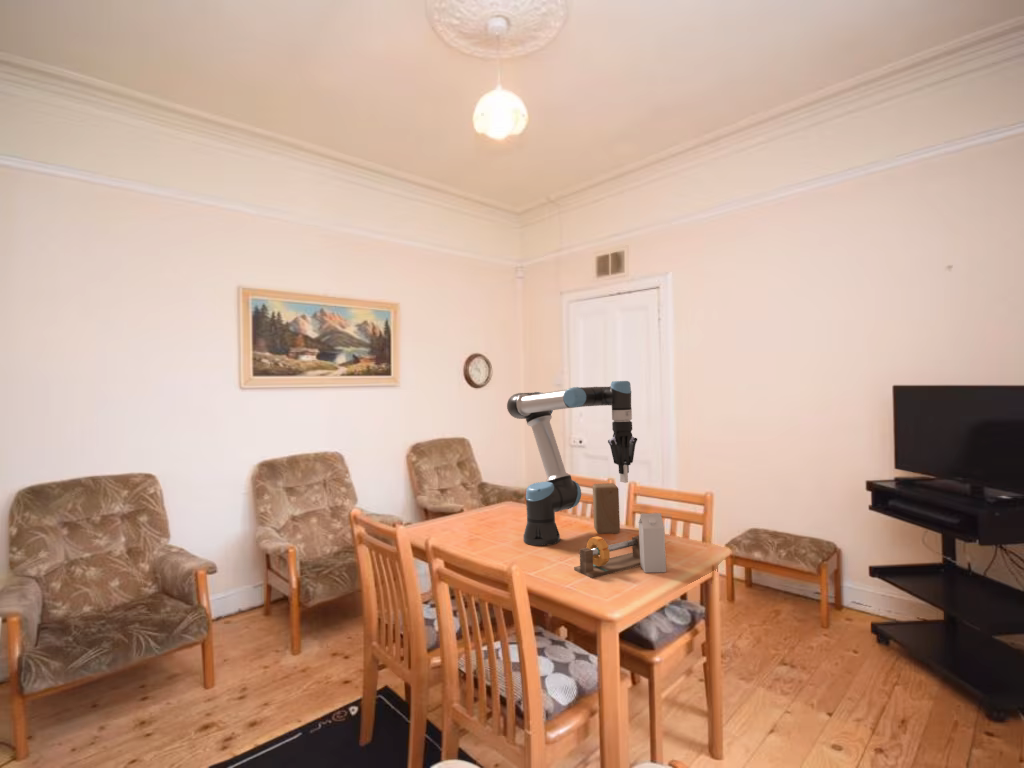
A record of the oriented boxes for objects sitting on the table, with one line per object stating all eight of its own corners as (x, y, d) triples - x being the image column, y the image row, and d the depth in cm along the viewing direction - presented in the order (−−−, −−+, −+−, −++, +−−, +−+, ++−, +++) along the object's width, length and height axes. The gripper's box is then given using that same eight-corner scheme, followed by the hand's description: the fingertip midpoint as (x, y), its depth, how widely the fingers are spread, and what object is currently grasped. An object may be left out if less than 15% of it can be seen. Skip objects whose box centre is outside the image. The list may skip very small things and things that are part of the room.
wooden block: (620, 533, 220) (618, 486, 220) (597, 534, 220) (595, 487, 220) (616, 527, 230) (614, 482, 230) (593, 528, 230) (592, 483, 230)
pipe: (583, 556, 175) (583, 549, 175) (635, 544, 187) (635, 537, 187) (588, 558, 172) (588, 551, 172) (641, 545, 184) (640, 538, 185)
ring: (587, 561, 179) (586, 535, 180) (592, 560, 181) (591, 534, 181) (604, 569, 171) (603, 541, 172) (610, 567, 173) (609, 540, 173)
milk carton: (640, 566, 179) (638, 511, 179) (660, 565, 179) (658, 510, 179) (644, 573, 172) (642, 516, 172) (666, 572, 171) (664, 515, 172)
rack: (574, 570, 177) (573, 546, 177) (632, 555, 191) (631, 533, 191) (592, 578, 168) (592, 554, 168) (652, 562, 182) (651, 539, 182)
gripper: (615, 422, 192) (617, 485, 191) (641, 420, 198) (643, 481, 197) (602, 421, 198) (604, 482, 198) (628, 419, 204) (630, 478, 204)
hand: (624, 481), depth 198 cm, fingers closed
